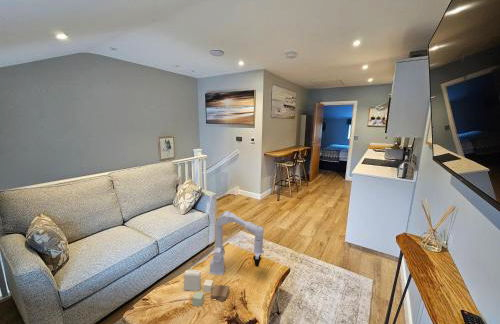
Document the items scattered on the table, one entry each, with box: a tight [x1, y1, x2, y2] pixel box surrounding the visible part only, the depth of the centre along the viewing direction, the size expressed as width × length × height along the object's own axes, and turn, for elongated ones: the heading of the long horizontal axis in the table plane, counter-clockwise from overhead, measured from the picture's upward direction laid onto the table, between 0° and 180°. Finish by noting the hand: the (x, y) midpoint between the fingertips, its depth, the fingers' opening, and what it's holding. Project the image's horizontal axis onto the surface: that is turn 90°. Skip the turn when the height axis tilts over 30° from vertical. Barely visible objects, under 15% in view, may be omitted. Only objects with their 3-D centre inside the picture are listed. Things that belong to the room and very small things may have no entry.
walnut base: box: [210, 284, 231, 302], centre depth 123 cm, size 9×9×3 cm
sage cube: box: [191, 291, 205, 307], centre depth 116 cm, size 5×5×5 cm
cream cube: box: [202, 279, 214, 294], centre depth 127 cm, size 5×5×5 cm
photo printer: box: [183, 269, 202, 292], centre depth 127 cm, size 10×4×12 cm, turn 90°
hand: (257, 263), depth 141 cm, fingers open, 7 cm apart
